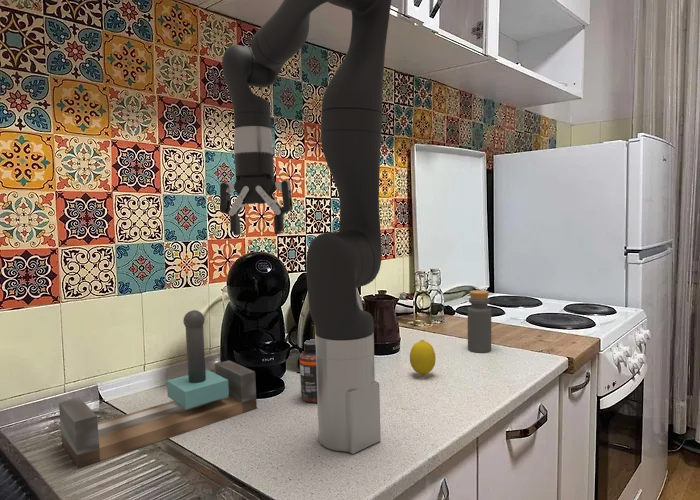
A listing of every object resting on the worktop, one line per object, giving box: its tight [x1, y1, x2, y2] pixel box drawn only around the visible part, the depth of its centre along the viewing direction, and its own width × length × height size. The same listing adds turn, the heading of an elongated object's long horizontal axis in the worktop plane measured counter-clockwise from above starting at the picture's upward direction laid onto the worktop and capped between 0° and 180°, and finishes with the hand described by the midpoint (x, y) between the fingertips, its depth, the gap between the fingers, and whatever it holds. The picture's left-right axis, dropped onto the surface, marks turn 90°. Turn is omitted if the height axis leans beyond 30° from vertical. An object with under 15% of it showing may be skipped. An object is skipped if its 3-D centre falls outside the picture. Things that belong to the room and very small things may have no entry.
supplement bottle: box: [299, 339, 317, 403], centre depth 95 cm, size 6×6×11 cm
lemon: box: [409, 339, 437, 377], centre depth 106 cm, size 6×6×8 cm
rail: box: [58, 360, 258, 469], centre depth 85 cm, size 30×10×7 cm, turn 132°
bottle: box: [467, 289, 492, 354], centre depth 124 cm, size 6×6×15 cm
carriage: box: [166, 310, 229, 409], centre depth 88 cm, size 8×8×16 cm
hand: (257, 234), depth 98 cm, fingers open, 8 cm apart
